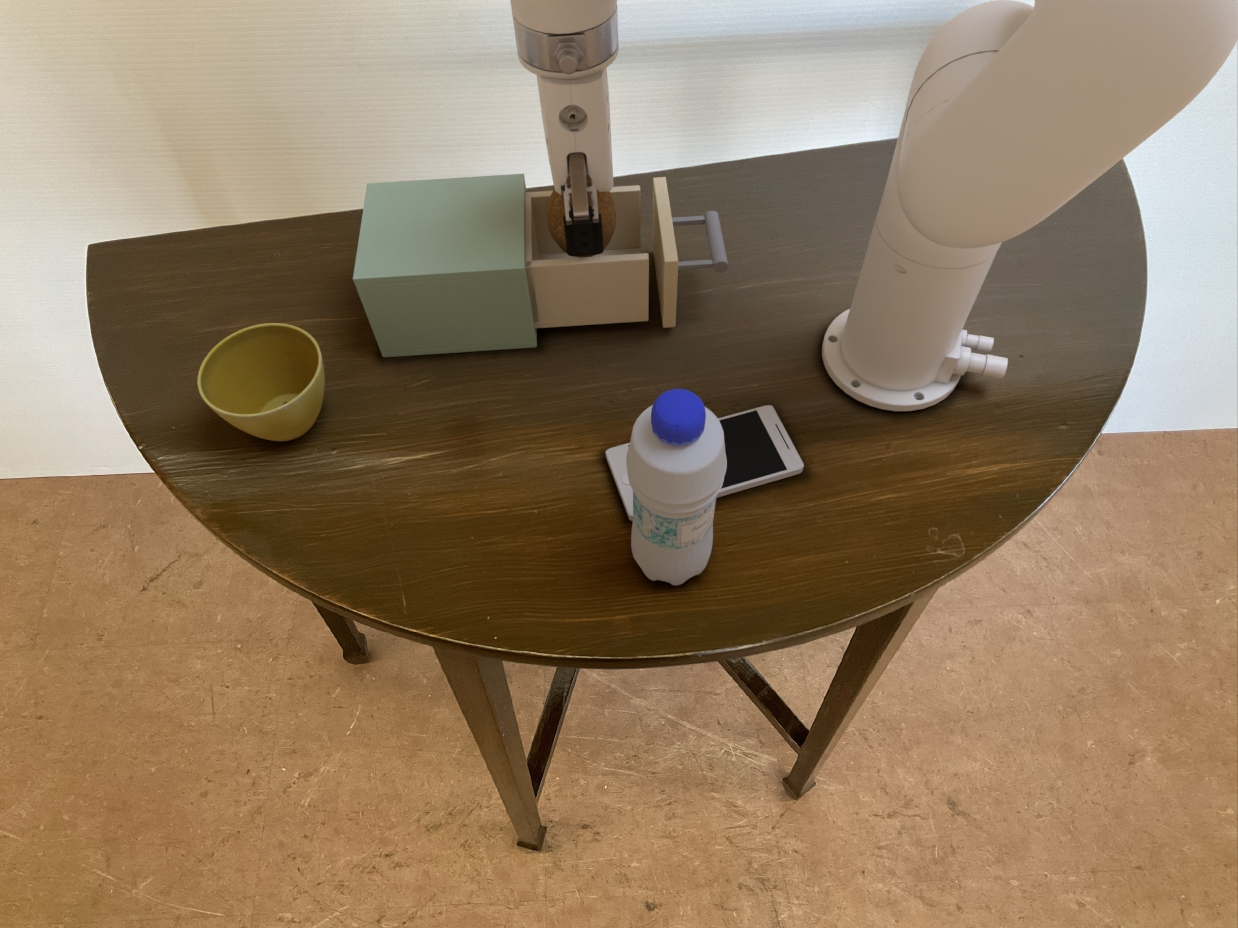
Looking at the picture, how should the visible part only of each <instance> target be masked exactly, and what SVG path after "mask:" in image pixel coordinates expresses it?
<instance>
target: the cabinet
mask: <svg viewBox="0 0 1238 928" xmlns="http://www.w3.org/2000/svg"><path fill="white" fill-rule="evenodd" d="M525 177H526V176H525V173H511V174H497V175H495V174H494V175H478V176H465V177H464V176H463V177H447V178H433V179H431V178H430V179H416V180H415V179H414V180H399V181H386V182H385V181H383V182H368V183H366V187H365V188H366V189H365V195H364V202H363V209H362V215H361V222H360V228H359V236H358V242H357V248H356V254H355V260H354V261H355V262H354V268H353V275H352V281H353V284H354V286H355V289H356V291H357V294H358V296H359V299H360V301H361V303H362V307H363V310H364V312H365V315H366V318H367V320H368V323H369V325H370V328H371V330H372V333H373V335H374V338H375V341H376V343H377V346H378V349H379V351H380V354H381V356H382V358H395V357H411V356H425V355H439V354H441V355H442V354H456V353H470V352H487V351H500V350H501V351H503V350H515V349H518V350H519V349H531V348H537V347H538V339H537V338H538V330H537V329H538V328H535V326H534V320H533V313H532V307H531V300H530V294H529V287H528V281H527V274H526V252H525V192H527V186H526V185H527V184H526V179H525Z"/></svg>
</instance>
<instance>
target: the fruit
mask: <svg viewBox="0 0 1238 928" xmlns="http://www.w3.org/2000/svg"><path fill="white" fill-rule="evenodd" d="M586 182H592V180H591V178H590V176H586ZM570 183H571V178H567V184H570ZM552 191H553V192H552V194H551V196H550V198H549V200H548V205H547V220H548V227H549V231H550V233H551V235H552V237H553V239H554V240H555V242H556V243H557V244H558V246H559V247H560V248H561V249H562V250H563V251H564V252H565V253H567V248H566V239H565V230H564V221H563V216H565V205H564V194H563V192H562V195H560V194H559V193H557V192H556V191H555V189H554V188H553V190H552ZM587 197H588V205H591V193H587ZM570 199H571V207H573V201H572V194H570ZM597 203H598V214H601V219H602V234H603V249H605V248H606V247H607V245H608V244H609V242H610V240H611V238H612V236H613V233H614V230H615V227H616V211H615V205H614V200H613V198H612V195H611V193H610V192H607V191H605V192H599V191H598V189H597ZM591 207H592V205H591ZM595 255H597V254H595ZM592 256H594V255H581V256H573V257H579V258H580V257H592Z"/></svg>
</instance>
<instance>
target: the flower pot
mask: <svg viewBox="0 0 1238 928" xmlns="http://www.w3.org/2000/svg"><path fill="white" fill-rule="evenodd" d="M325 388H326V374H325V365H324V359H323V355H322V352H321V348H320V346H319V344H318V342H317V341H316V339H315V338H314V337H313V336H312V335H311V334H310V333H309V332H308V331H306V330H304V329H302V328H301V327H298V326H295V325H292V324H288V323H283V322H282V323H280V322H267V323H266V322H265V323H258V324H255V325H251V326H248V327H245V328H242V329H239V330H237V331H235V332H233V333H232V334H229V335H228V336H226V337H224V338H223V339H222V340H221V341H219V342H218V343H217V344H215V346H214V347H212V348H211V350H210V351H209V352H208V353H207V355H206V356H205V357H204V359H203V360H202V362H201V364H200V367H199V369H198V373H197V389H198V392H199V395H200V397H201V399H202V400H203V401H204V402H205V404H206V405H207V406H208V407H209V408H210V409H211V410H212V411H213V412H215V414H217V415H218V416H219V417H220V418H222V419H223V420H224V421H226V422H227V423H229V424H230V425H231V426H233V427H235V428H237V429H239V430H240V431H242V432H245V433H247V434H249V435H251V436H254V437H257V438H259V439H262V440H267V441H273V442H289V441H293V440H295V439H298V438H300V437H302V436H304V435H305V434H306V433H307V432H309V431H310V430H311V429H312V427H313V425H314V424H315V423H316V421H317V419H318V417H319V414H320V412H321V410H322V406H323V401H324V396H325V390H326V389H325Z"/></svg>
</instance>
